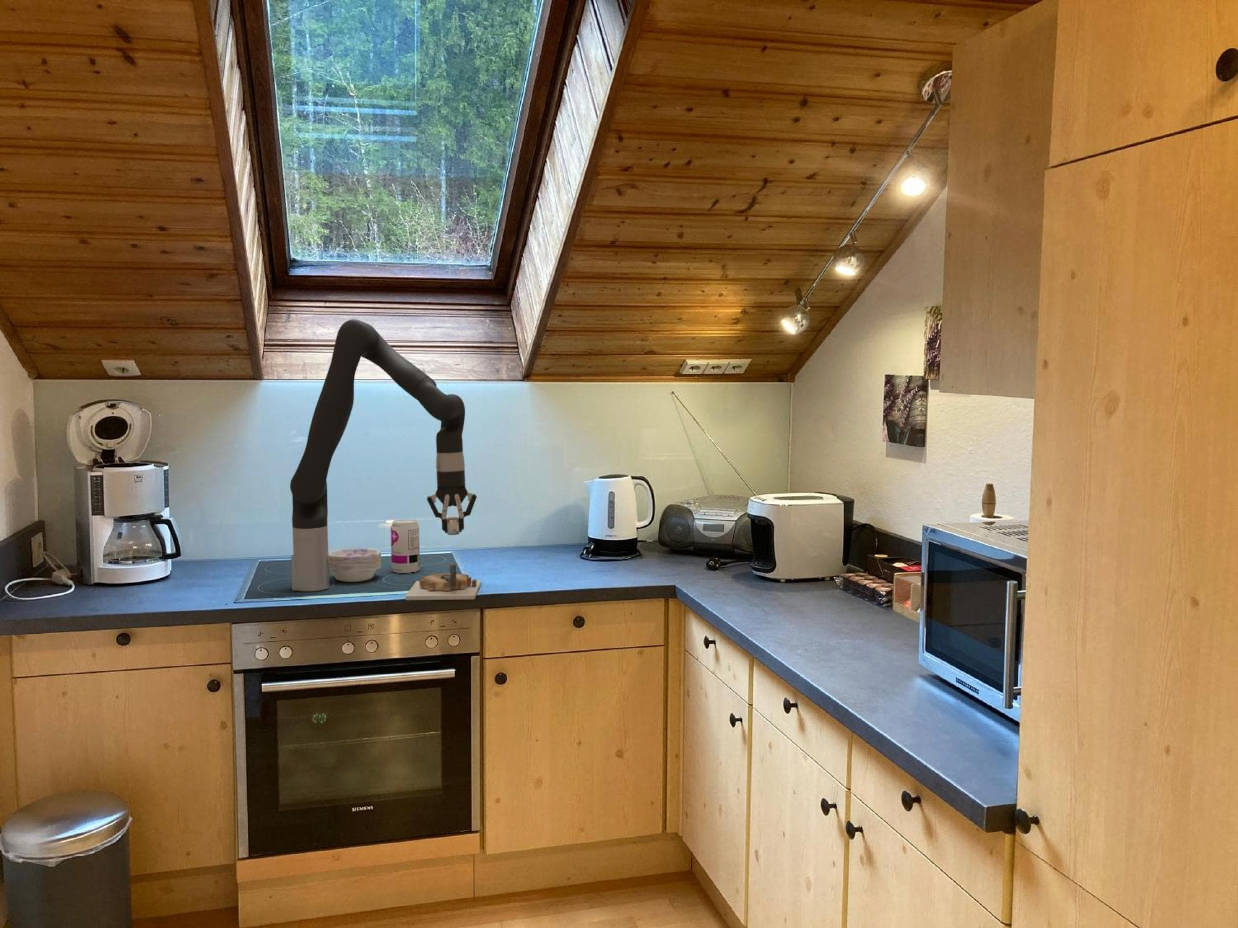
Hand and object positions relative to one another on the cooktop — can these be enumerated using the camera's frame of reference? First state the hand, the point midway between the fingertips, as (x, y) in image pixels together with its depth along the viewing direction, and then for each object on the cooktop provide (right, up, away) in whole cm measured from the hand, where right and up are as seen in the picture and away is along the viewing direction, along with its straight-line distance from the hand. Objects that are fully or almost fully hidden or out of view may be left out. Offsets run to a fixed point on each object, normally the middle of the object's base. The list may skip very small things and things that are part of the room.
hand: (453, 531), depth 278 cm
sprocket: (-2, -15, +1) cm, 15 cm away
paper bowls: (-31, -15, +17) cm, 38 cm away
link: (0, 0, 0) cm, 0 cm away
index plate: (-2, -16, 0) cm, 16 cm away
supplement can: (-18, -14, +27) cm, 35 cm away
